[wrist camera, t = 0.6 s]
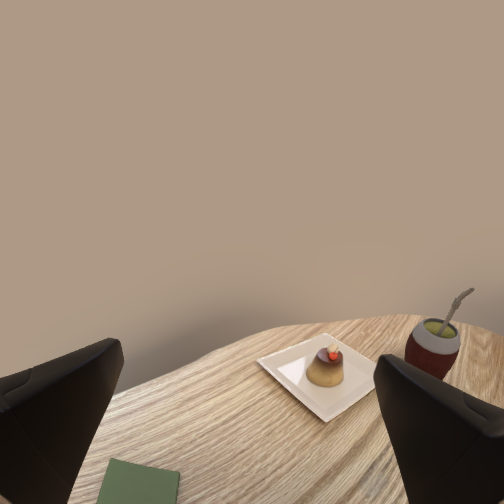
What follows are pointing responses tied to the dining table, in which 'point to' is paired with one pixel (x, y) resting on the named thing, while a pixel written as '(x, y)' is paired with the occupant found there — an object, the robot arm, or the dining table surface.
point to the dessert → (322, 374)
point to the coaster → (138, 484)
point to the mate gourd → (435, 343)
